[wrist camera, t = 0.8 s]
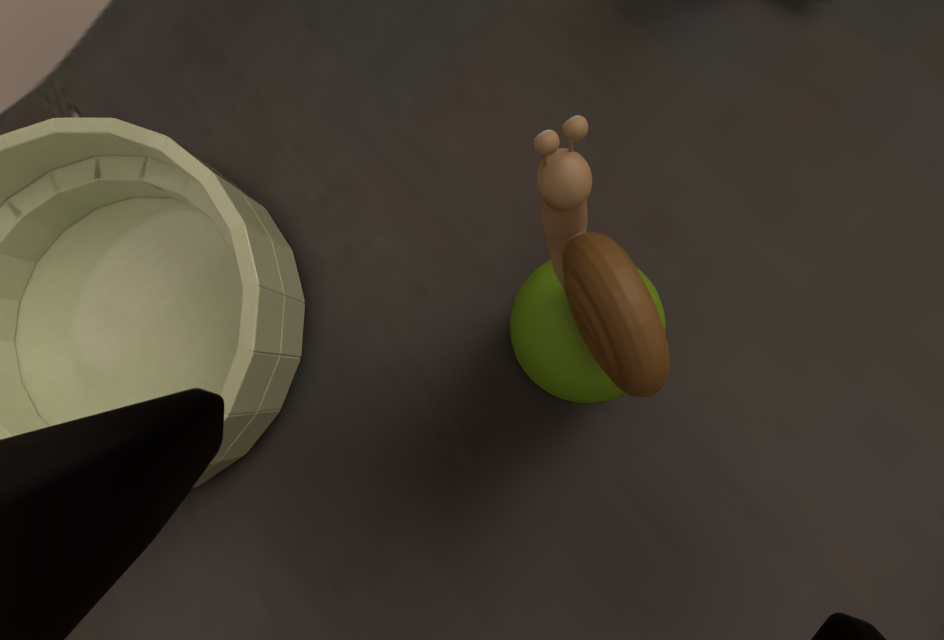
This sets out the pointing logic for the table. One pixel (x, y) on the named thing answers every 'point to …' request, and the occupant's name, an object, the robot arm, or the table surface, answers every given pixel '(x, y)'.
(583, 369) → the snail figurine
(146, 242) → the basin
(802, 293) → the table surface
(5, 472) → the robot arm
